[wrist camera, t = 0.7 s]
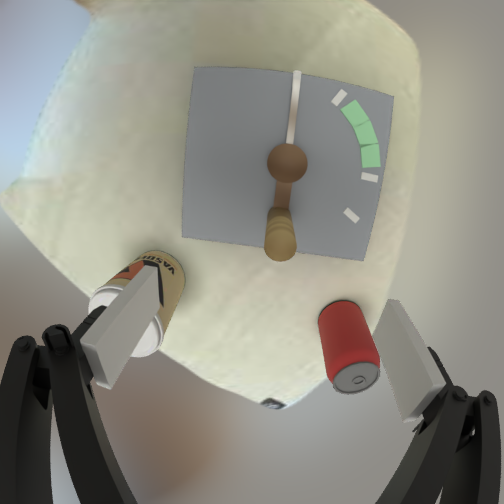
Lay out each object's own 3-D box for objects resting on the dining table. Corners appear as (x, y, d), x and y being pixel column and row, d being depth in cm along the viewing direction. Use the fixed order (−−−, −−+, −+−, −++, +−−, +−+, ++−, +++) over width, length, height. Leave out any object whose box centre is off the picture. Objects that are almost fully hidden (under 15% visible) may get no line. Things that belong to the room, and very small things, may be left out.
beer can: (333, 341, 39) (346, 403, 28) (308, 317, 37) (316, 381, 26) (369, 317, 36) (393, 377, 25) (345, 290, 35) (368, 351, 24)
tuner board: (199, 68, 25) (194, 64, 23) (387, 96, 25) (394, 93, 23) (186, 231, 34) (181, 237, 31) (359, 254, 33) (363, 261, 31)
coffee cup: (194, 253, 35) (160, 305, 24) (188, 310, 38) (160, 368, 27) (131, 237, 35) (81, 279, 24) (131, 294, 38) (92, 343, 27)
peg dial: (277, 78, 23) (277, 53, 16) (315, 84, 23) (331, 62, 15) (259, 225, 30) (253, 258, 22) (295, 230, 30) (302, 264, 22)
